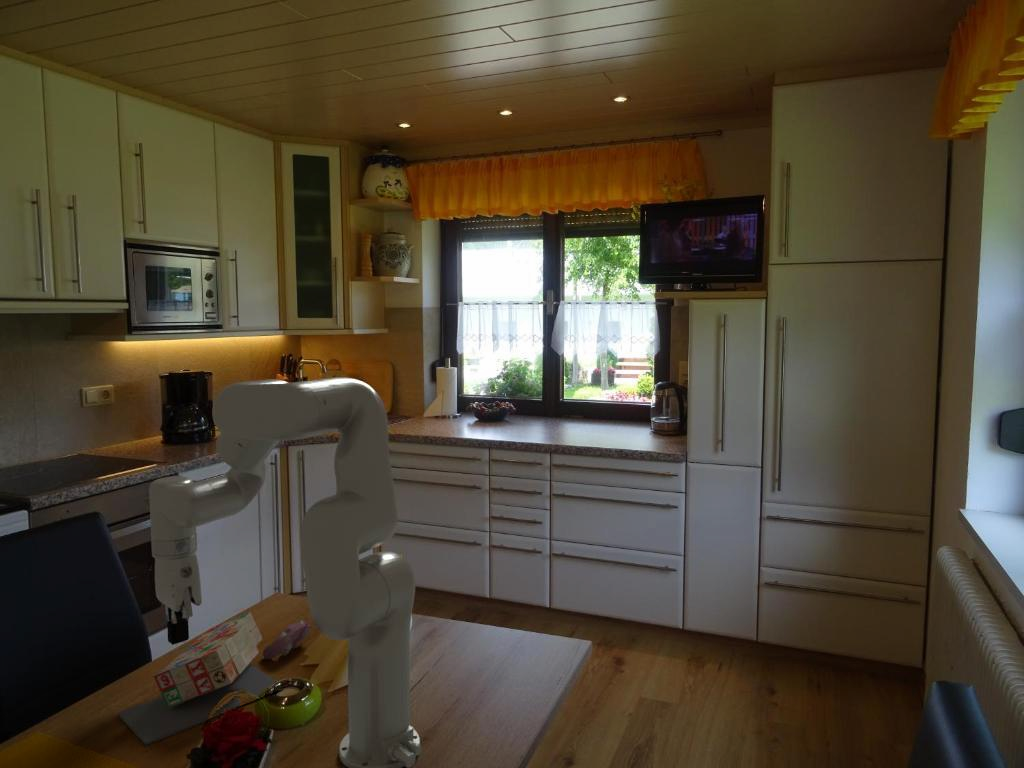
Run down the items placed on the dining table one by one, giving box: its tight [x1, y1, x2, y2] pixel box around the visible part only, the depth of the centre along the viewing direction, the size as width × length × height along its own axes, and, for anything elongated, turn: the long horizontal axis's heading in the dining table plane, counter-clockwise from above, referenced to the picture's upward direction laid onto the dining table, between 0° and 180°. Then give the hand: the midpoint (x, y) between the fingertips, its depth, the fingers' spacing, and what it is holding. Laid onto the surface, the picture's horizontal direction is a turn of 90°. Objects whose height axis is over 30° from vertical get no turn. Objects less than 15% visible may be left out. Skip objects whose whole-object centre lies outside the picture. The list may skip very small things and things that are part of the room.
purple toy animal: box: [262, 619, 312, 660], centre depth 148 cm, size 10×5×7 cm, turn 160°
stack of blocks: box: [153, 611, 263, 708], centre depth 135 cm, size 21×6×12 cm
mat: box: [117, 663, 278, 746], centre depth 129 cm, size 12×24×1 cm, turn 137°
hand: (178, 640), depth 135 cm, fingers closed
